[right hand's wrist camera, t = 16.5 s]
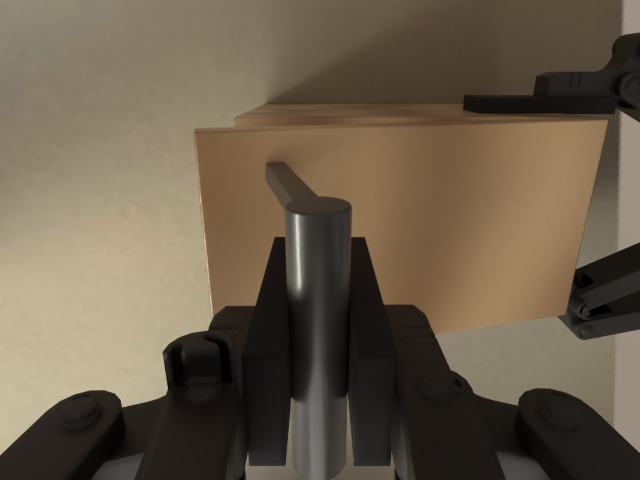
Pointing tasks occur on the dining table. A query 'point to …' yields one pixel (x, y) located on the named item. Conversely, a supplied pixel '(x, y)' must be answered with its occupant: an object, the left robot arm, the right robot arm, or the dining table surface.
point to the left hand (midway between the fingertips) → (460, 198)
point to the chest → (370, 114)
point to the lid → (393, 234)
